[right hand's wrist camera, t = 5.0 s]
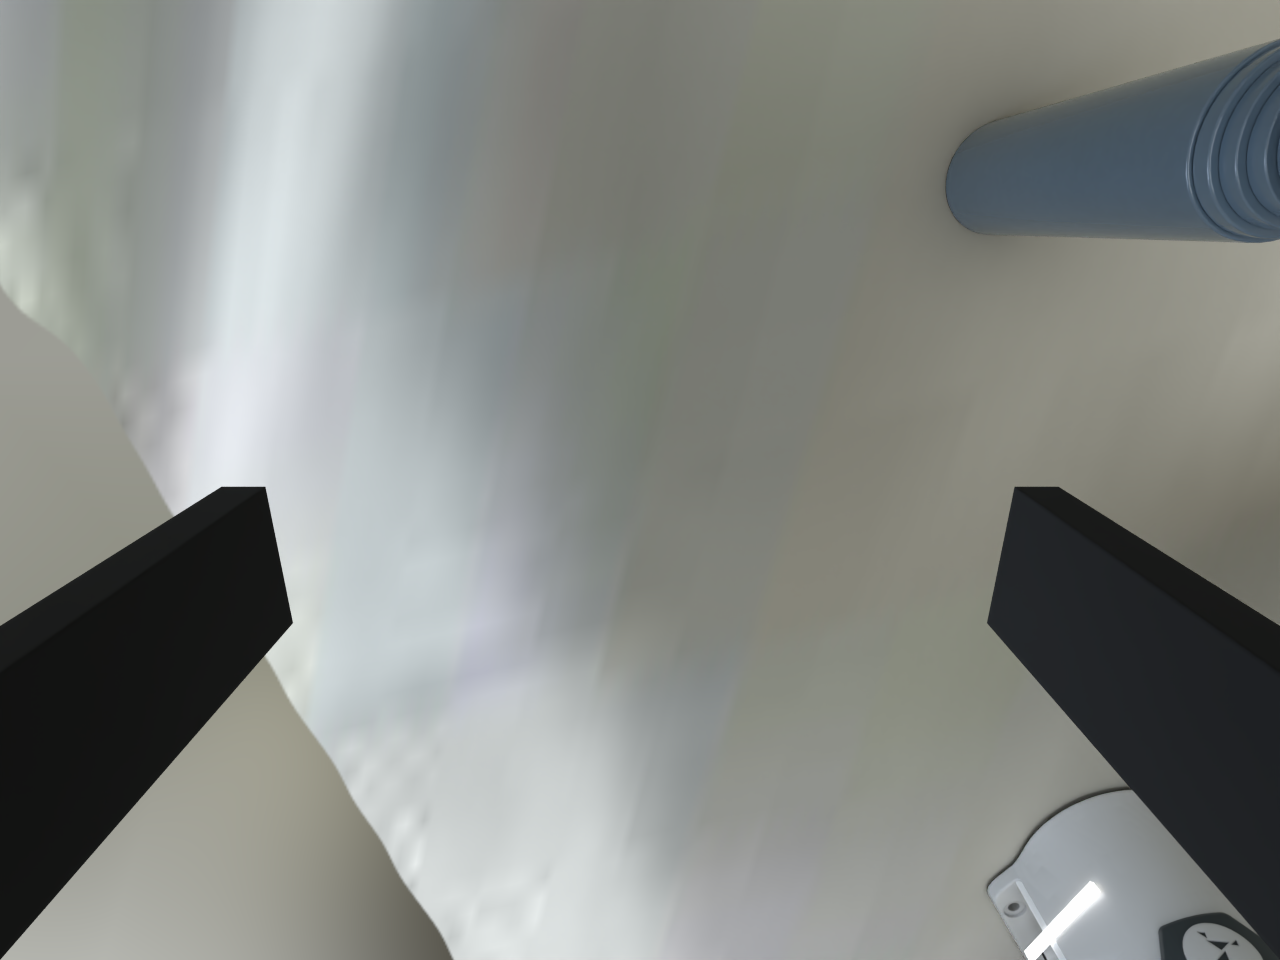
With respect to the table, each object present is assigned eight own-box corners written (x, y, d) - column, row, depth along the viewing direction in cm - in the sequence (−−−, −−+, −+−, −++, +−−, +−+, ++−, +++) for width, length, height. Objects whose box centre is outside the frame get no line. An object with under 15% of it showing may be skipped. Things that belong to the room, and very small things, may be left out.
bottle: (925, 172, 36) (1315, 101, 15) (1019, 93, 35) (1585, -101, 14) (980, 257, 37) (1406, 298, 17) (1072, 184, 36) (1657, 131, 15)
